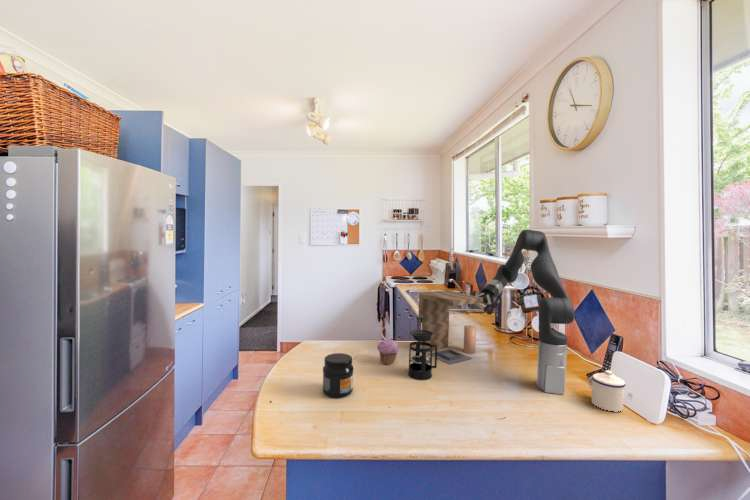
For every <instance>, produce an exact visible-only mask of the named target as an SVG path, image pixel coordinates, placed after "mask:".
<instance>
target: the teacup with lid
mask: <svg viewBox="0 0 750 500" xmlns="http://www.w3.org/2000/svg"><path fill="white" fill-rule="evenodd" d="M587 382H588V387H589V388H590V391H591V403H592V405H593V404H594V405H593V406H595V407H596V406H597V407H596V408H598V407H599V408H598V409H600V408H601V409H600V410H603V409H604V410H603V411H606V410H608V411H607V412H610V411H614V412H613V413H620V411H621V412H623V411H624V400H625V398H624V397H625V387H626V382H625V380H624V379H622V378H621V377H618V376H616V375H615V374H614V373H613V372H612V371H611V370H607V369H605V371H604V372H597V373H594V374H593V375H592V376H590V377H589V378H588V381H587ZM618 411H619V412H618Z"/></svg>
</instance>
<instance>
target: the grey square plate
mask: <svg viewBox="0 0 750 500" xmlns="http://www.w3.org/2000/svg"><path fill="white" fill-rule="evenodd" d="M427 355H428V356H430V352H428V353H427ZM432 358H434V359H435V351H434V352H432ZM472 359H473V358H472V357H470V356H468V355H466V354H463V353H461V352H458V351H456V350H454V349H451V348H448V349H444V350H437V360H439V361H441V362H443V363H446V364H448V365H455V364H458V363H460V362H461V363H462V362H465V361H468V360H472Z"/></svg>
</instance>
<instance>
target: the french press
mask: <svg viewBox="0 0 750 500" xmlns="http://www.w3.org/2000/svg"><path fill="white" fill-rule="evenodd" d="M416 319H417V320H418V319H420V322H421V330H418V329H412V330H410V331H409V334H410V335H411V336H412V337H413V339H414V340H415V341H412V342H410V343H409V344H408V347H409V349H408V351H409V352H408V353H409V354H408V372H407V375H408V377H409V378H411V379H413V380H416V381H417V380H418V381H427V380H430V379H432V378H433V373H432V372H433V371H432V369H436V368H437V363H438V362H437V361H438V359H437V352H438V349H437V346H436V345H432V344H430V343H427V342H421V341H430V340H431V339H432V335H433V333H432V332H430V331H427V330H422V322H423V320H425V319H427V318H426V317H418V316H416ZM421 345H426V346H429V347H431V348H427V349H421ZM413 346H415V347H413ZM432 347H435V350H434V352H435V358H434V364H433V357H432V353H433V350H432ZM412 351H413V352H415V355H412V354H411V353H412ZM421 352H422V353H421ZM427 353H430V355H429V356H427Z"/></svg>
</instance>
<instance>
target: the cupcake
mask: <svg viewBox="0 0 750 500" xmlns="http://www.w3.org/2000/svg"><path fill="white" fill-rule="evenodd" d="M377 350H378V352H379V358H380V362H381V363H382V364H385V365H388V366H389V365H391V364H393V363H394V362H395V361H396V357H397V354H398V352H399V345H398V342H396V341H395V340H394V339H382V340H381V341H380V342H379V343H378V345H377Z"/></svg>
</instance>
